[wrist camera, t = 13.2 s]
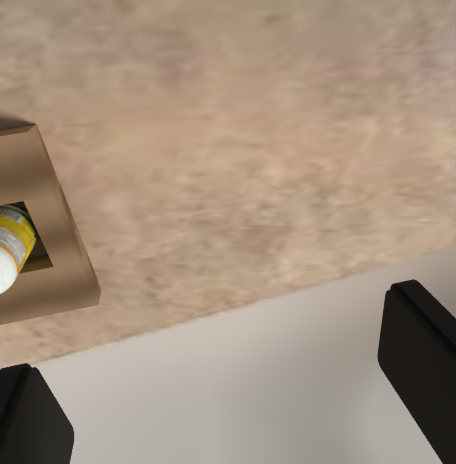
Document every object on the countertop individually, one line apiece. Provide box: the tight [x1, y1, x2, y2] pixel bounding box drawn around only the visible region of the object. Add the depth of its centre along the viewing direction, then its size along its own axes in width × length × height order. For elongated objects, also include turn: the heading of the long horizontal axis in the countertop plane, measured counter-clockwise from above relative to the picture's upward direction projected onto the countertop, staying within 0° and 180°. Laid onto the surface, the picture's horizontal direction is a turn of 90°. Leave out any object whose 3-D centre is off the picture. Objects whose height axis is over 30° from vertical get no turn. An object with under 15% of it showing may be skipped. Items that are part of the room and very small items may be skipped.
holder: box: [0, 124, 101, 325], centre depth 33 cm, size 18×12×2 cm, turn 7°
